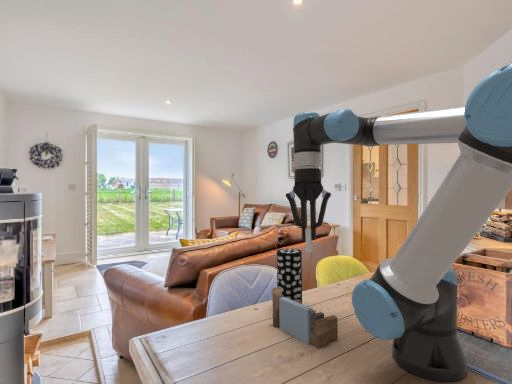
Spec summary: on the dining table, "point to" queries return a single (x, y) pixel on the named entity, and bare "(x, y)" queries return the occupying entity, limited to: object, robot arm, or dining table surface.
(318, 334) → the pair of brown blocks
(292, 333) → the gate
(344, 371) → the dining table surface
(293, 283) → the white-spotted black cylinder
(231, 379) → the dining table surface
